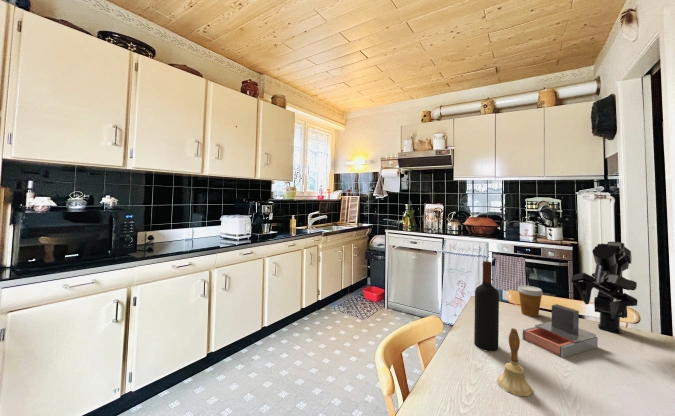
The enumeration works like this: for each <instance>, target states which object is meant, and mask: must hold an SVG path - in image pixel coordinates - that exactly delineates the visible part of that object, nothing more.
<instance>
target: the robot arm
mask: <svg viewBox="0 0 675 416" xmlns="http://www.w3.org/2000/svg"><path fill="white" fill-rule="evenodd" d="M592 254H593V259H594V262H595V264H596V266H595V271H594V273H591V275H590V274H588V273H587V272H581V273H578V274H574V275H573V276H571V280H570V282H572V283H573V284H574V286H575V287H576V288H577V290H578V292H579V293H580V296H581V297H582V300H583V302H584V305H589V304H590V302H591V295H592V290H593V289H596V290H597V295H596V296H595V297H594V300H593V302H594V303H593V304H594V305H593V306H594V312H595V313H599V323H600V324H598V329H600V330H604V331H607V332H608V331H609V332H613V333H616V334H622V332H623V331H622V327H621V323H620V322H621V319H626V318H628V307H637V306H638V299H637V298H635V297H634V296H632V295H629V294H628V293H626V292H624V293H623V292H622V293H621V292H620V291H621V290H626V291H636V289H637V286H638V285H637V284H638V283H637V282H636V281H635V280H633V279H631V280H630V279H627V278H625V277H624V276H622V275H623V272H624V271H626V270H628V269H629V266H630V264H631V265H632V257H633V256H632V251H631V250H630V249H629V248H627V247H626V246H625V243H624V242H623V241H622V242H620V241H607V243H598V244H597V245H595V247H594V248H593V249H592Z"/></svg>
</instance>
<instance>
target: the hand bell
mask: <svg viewBox="0 0 675 416" xmlns="http://www.w3.org/2000/svg"><path fill="white" fill-rule="evenodd" d="M520 342H521V340H520V336H519V333H518V330H517V329H516V328H511V329H510V332H509V335H508V346H509V349H510V362H507V363H505V364H504V370H503V373H502V374H501V375H499V376H498V377H497V379H496V382H497V385H498V384H499V385H500V386H501V387H502V388H504V389H505V390H507V391H509V392H511V393H512V394H511V393H510V394H511V395H513V394H515V395H514V396H517V395H519V396H518V397H523V396H525V397H530V396H532V394H533V392H534V391H533V390H534V389H532V387H531V385H530V383H528V381H527V379H526V375H525V370H524V368H523V367H522V366H521V365H520V364H519V359H518V358H519V356H518V352H519V350H520ZM499 385H498V386H499ZM500 386H499V387H500ZM501 387H500V388H501ZM502 388H501V389H502ZM505 390H504V391H505ZM507 391H506V392H507ZM509 392H508V393H509Z"/></svg>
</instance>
